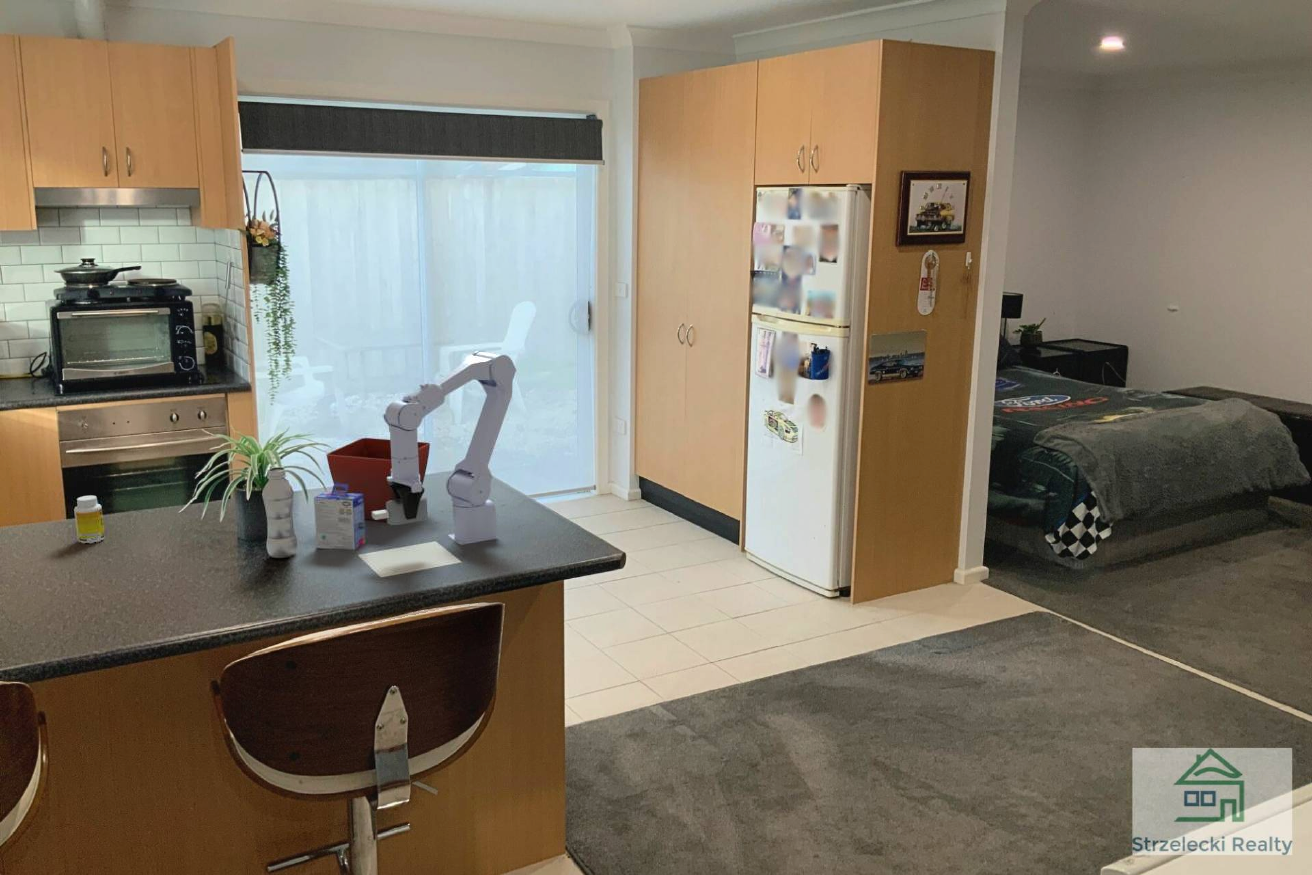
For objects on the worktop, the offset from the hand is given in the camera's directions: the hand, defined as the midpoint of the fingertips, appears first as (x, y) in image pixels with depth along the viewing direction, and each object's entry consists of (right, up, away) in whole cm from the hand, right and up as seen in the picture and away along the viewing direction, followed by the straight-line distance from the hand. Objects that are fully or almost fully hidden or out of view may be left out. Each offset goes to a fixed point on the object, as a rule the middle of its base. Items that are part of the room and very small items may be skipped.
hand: (407, 515), depth 233 cm
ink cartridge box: (-17, -8, +8) cm, 20 cm away
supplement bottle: (-75, -7, +10) cm, 76 cm away
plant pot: (-14, -2, +33) cm, 36 cm away
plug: (-1, -1, -1) cm, 2 cm away
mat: (+1, -10, -1) cm, 10 cm away
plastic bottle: (-28, -9, +1) cm, 29 cm away
